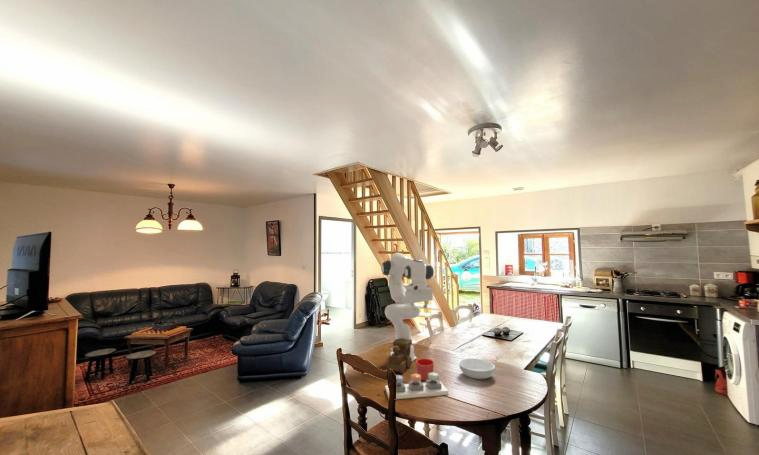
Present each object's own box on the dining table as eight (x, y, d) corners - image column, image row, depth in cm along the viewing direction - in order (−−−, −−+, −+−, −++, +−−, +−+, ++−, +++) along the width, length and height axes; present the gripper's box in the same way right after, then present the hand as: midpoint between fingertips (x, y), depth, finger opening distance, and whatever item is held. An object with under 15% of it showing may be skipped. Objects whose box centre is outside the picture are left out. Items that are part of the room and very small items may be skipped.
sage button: (427, 381, 170) (426, 372, 170) (436, 380, 171) (436, 372, 171) (430, 385, 164) (430, 376, 165) (440, 384, 165) (439, 376, 165)
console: (385, 389, 169) (385, 380, 170) (440, 384, 174) (440, 376, 174) (389, 399, 158) (388, 390, 158) (448, 394, 162) (447, 385, 162)
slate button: (391, 383, 167) (391, 375, 167) (401, 383, 168) (401, 374, 168) (393, 388, 161) (393, 379, 162) (404, 387, 162) (403, 378, 163)
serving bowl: (498, 384, 173) (497, 372, 174) (460, 381, 177) (460, 369, 178) (492, 370, 194) (491, 359, 194) (458, 368, 198) (458, 357, 198)
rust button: (409, 382, 168) (409, 374, 169) (419, 381, 169) (419, 373, 170) (412, 386, 163) (412, 378, 163) (422, 386, 164) (422, 377, 164)
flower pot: (420, 383, 176) (420, 366, 177) (413, 375, 187) (413, 359, 188) (437, 380, 179) (436, 363, 180) (429, 373, 190) (429, 357, 190)
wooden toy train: (398, 362, 209) (397, 337, 211) (413, 365, 204) (413, 339, 205) (385, 373, 192) (384, 346, 193) (401, 376, 187) (401, 348, 188)
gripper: (427, 284, 193) (428, 306, 192) (403, 287, 181) (403, 310, 179) (434, 285, 188) (435, 307, 187) (410, 287, 176) (411, 312, 174)
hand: (419, 309), depth 183 cm, fingers open, 8 cm apart
